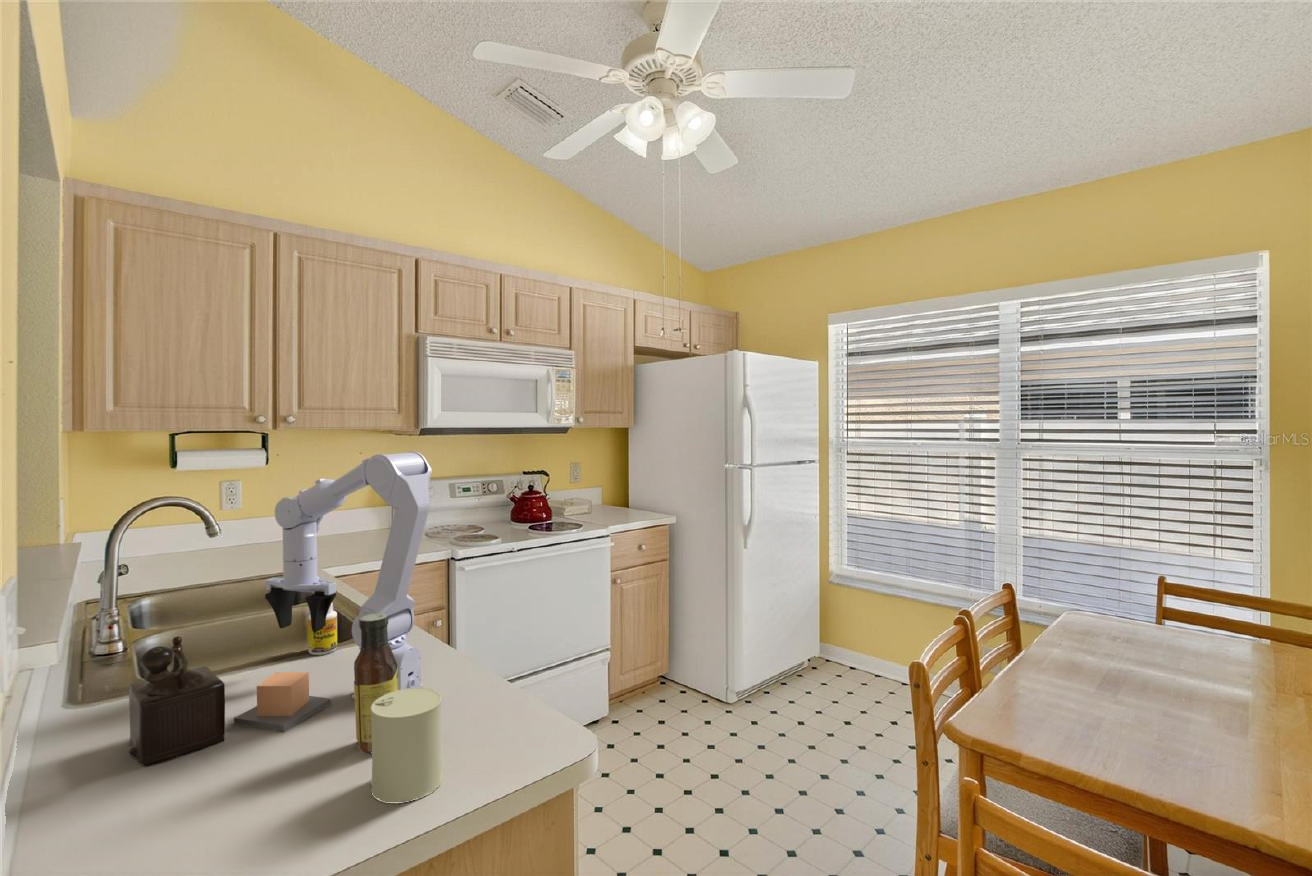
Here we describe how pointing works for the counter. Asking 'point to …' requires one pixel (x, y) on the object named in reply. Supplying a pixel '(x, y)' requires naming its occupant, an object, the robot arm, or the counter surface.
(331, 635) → the supplement bottle
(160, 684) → the dark brown boxy piece
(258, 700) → the orange cube
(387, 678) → the sauce bottle
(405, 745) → the can
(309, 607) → the robot arm
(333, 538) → the counter surface
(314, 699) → the shaft base
